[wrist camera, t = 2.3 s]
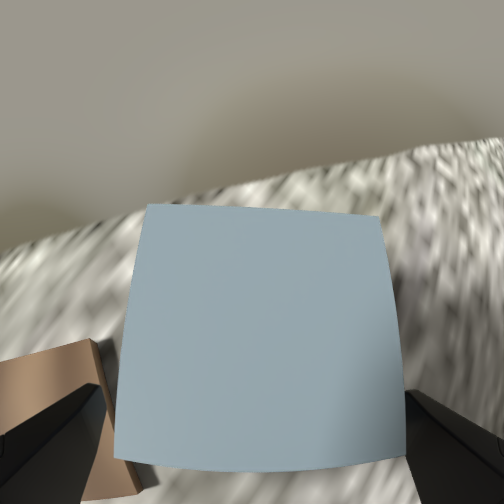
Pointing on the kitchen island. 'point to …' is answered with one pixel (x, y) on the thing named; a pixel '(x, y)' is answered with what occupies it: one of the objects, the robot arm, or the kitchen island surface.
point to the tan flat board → (55, 388)
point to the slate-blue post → (259, 342)
